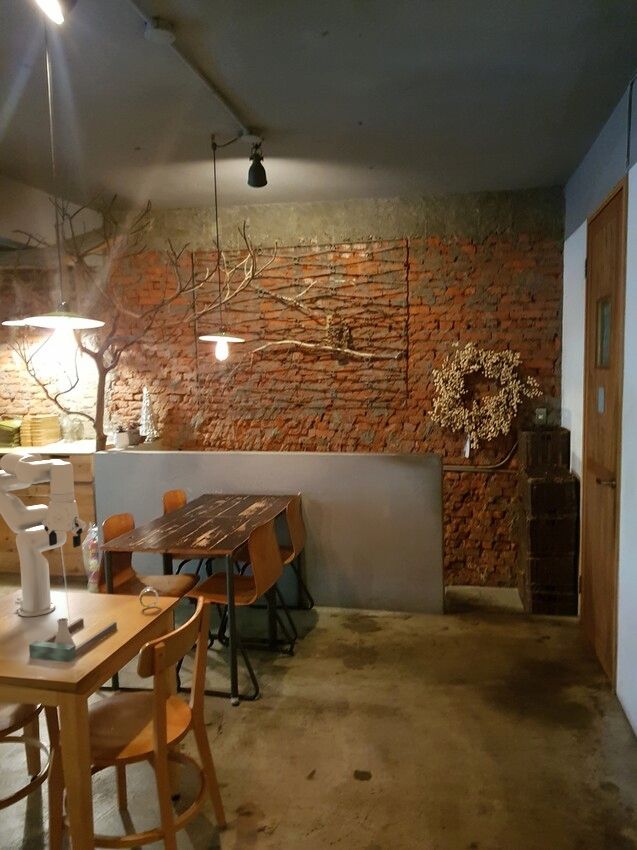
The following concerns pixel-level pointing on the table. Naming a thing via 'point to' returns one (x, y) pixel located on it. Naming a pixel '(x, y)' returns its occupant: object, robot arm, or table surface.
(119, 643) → the table surface
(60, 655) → the guide channel
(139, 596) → the ring
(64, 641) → the flask
